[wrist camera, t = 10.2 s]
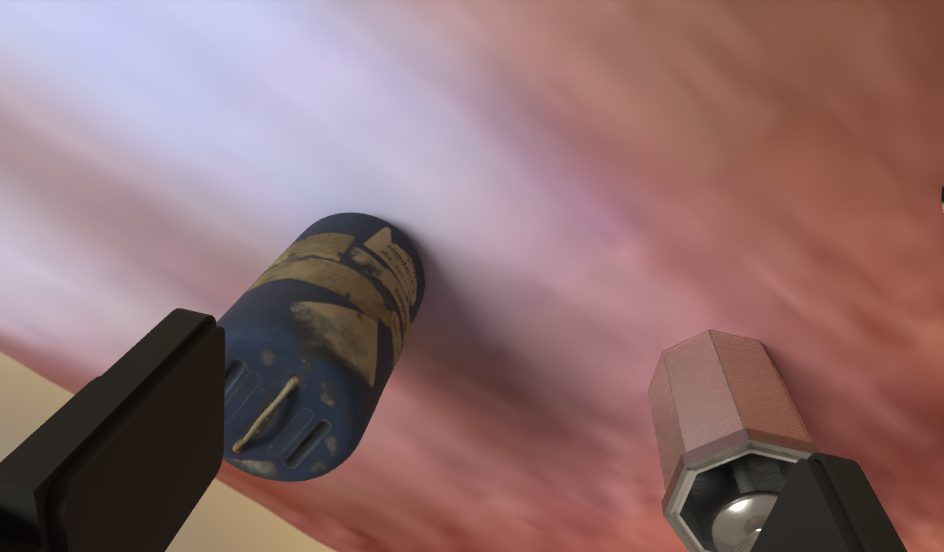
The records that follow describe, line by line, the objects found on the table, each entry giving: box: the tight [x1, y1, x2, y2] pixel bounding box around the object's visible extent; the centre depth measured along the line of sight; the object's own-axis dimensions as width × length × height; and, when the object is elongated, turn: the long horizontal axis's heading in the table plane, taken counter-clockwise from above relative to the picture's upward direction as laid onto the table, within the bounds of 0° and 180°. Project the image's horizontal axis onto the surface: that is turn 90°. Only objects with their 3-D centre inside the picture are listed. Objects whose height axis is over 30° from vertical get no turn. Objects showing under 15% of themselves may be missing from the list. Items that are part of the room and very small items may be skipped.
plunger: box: [711, 455, 780, 552], centre depth 39 cm, size 6×6×16 cm
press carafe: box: [648, 330, 820, 552], centre depth 43 cm, size 11×9×12 cm
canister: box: [216, 213, 425, 482], centre depth 40 cm, size 10×10×18 cm
